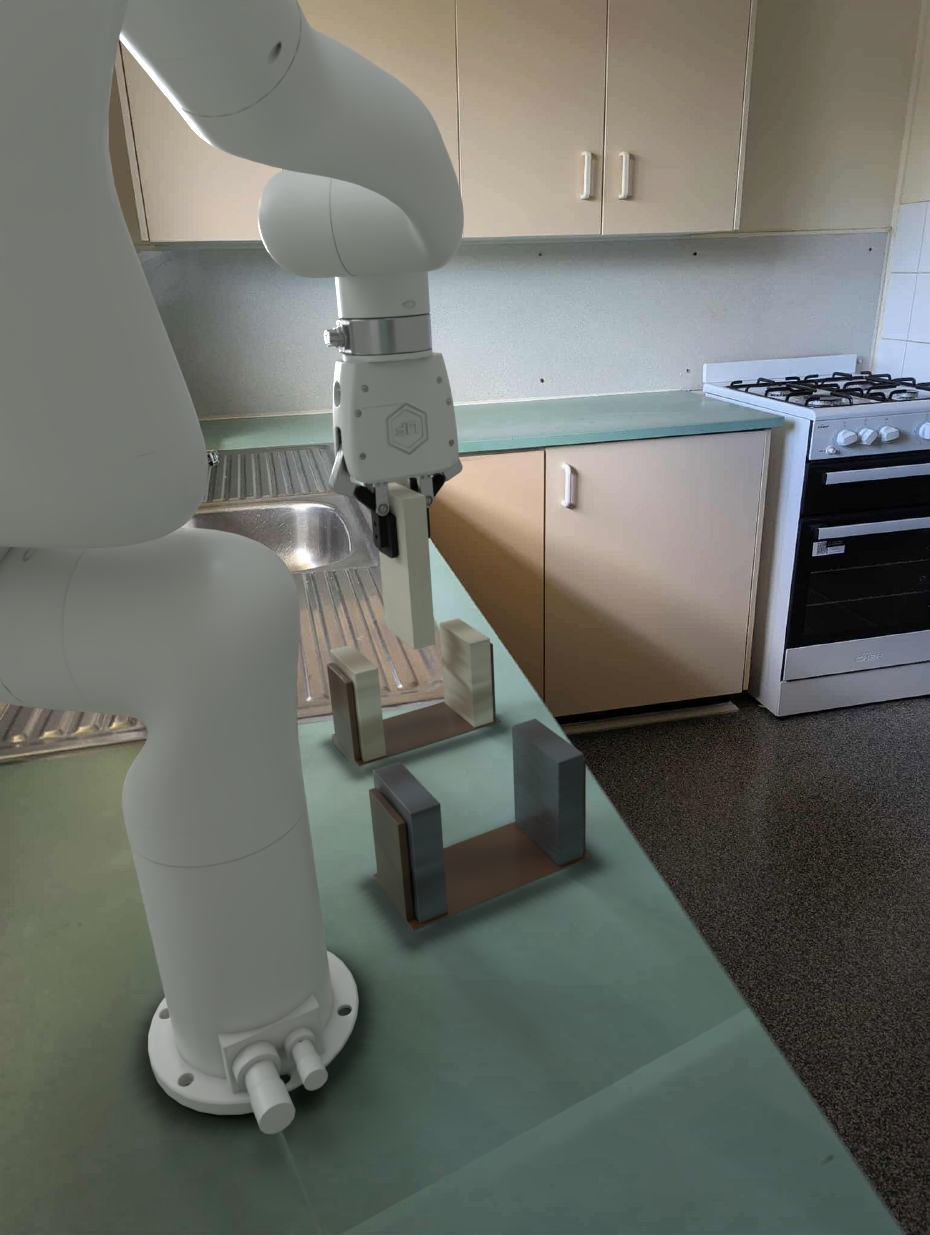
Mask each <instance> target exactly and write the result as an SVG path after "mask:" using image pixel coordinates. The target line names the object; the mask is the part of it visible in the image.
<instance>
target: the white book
mask: <svg viewBox="0 0 930 1235" xmlns="http://www.w3.org/2000/svg"><path fill="white" fill-rule="evenodd" d="M388 488H389V506H390V511H391V513H392V514H394V515H395V516H396V525H397V538H398V550H399V555H398V556H397V557H396V558H390V557H388V556H386V555H385V554H383V553H381V552H380V551H379V550H378V554H379V566H380V577H381V589H382V590H381V591H382V599H383V600H382V601H383V610H384V611H383V613H384V623H385V628H386V629H387V630H388V631H389V632H391V633H392V634H393V635H394V636H396V637H397V638H398V639H399V640H400V641H402V642H403V643H405V644H406V645H407V646H409V647H410V648H411V649H413V650H414V651H416V650H420V649H423V648H427V647H430V646H434V645H436V635H435V633H436V632H435V617H434V616H435V615H434V603H433V602H434V600H433V588H432V586H433V585H432V573H431V572H432V571H431V570H432V569H431V557H430V556H431V555H430V542H429V539H428V525H427V510H426V496H425V495H423V494H420V493H418V492H416V491H413V490H411V489H409V488H406V487H404V486H402V485H400V484H397V483H395V482H394V483H388Z"/></svg>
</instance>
